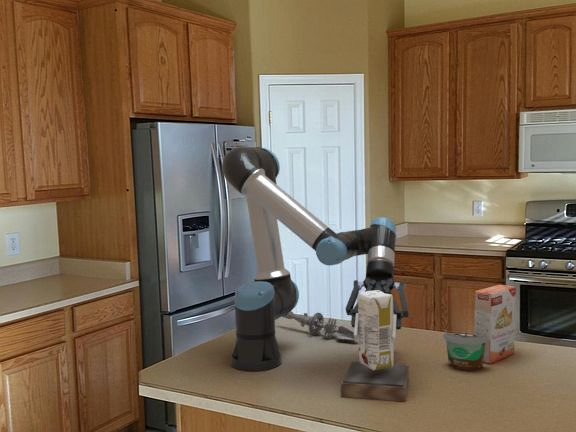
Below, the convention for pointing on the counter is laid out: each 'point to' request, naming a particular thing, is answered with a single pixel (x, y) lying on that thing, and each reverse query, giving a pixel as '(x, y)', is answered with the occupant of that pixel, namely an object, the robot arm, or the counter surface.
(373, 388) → the grey brown square slab
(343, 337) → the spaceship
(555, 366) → the counter surface
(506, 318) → the cracker box
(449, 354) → the food container
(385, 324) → the juice carton
